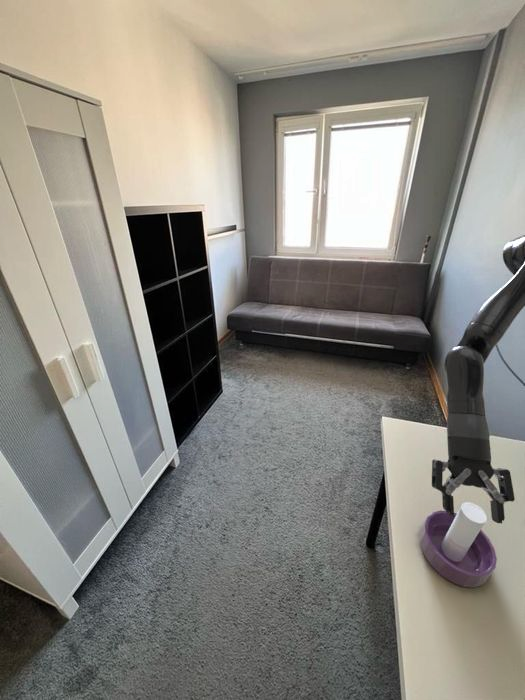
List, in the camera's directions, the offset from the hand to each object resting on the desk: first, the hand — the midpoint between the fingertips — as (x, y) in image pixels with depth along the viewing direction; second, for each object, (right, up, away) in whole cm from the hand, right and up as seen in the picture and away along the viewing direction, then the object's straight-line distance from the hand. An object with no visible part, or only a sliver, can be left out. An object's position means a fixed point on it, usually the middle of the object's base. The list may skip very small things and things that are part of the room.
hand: (473, 518), depth 57 cm
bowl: (0, -12, +7) cm, 14 cm away
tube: (0, -12, +7) cm, 14 cm away
